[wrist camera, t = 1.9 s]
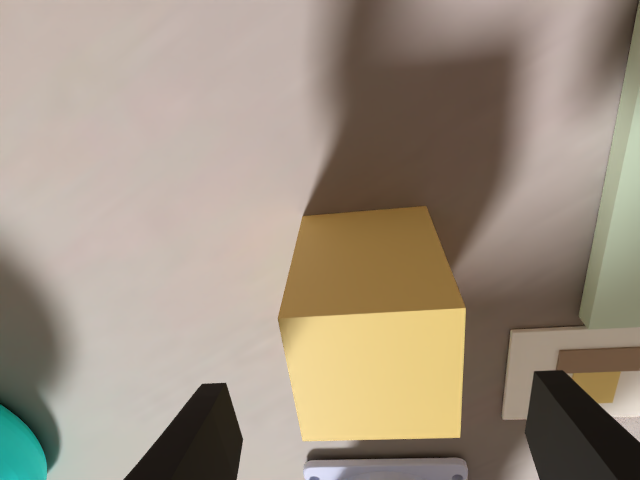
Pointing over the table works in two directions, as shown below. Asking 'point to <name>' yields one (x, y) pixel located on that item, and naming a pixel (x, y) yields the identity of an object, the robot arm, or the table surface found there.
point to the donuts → (19, 450)
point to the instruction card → (576, 366)
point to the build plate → (618, 216)
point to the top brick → (373, 328)
